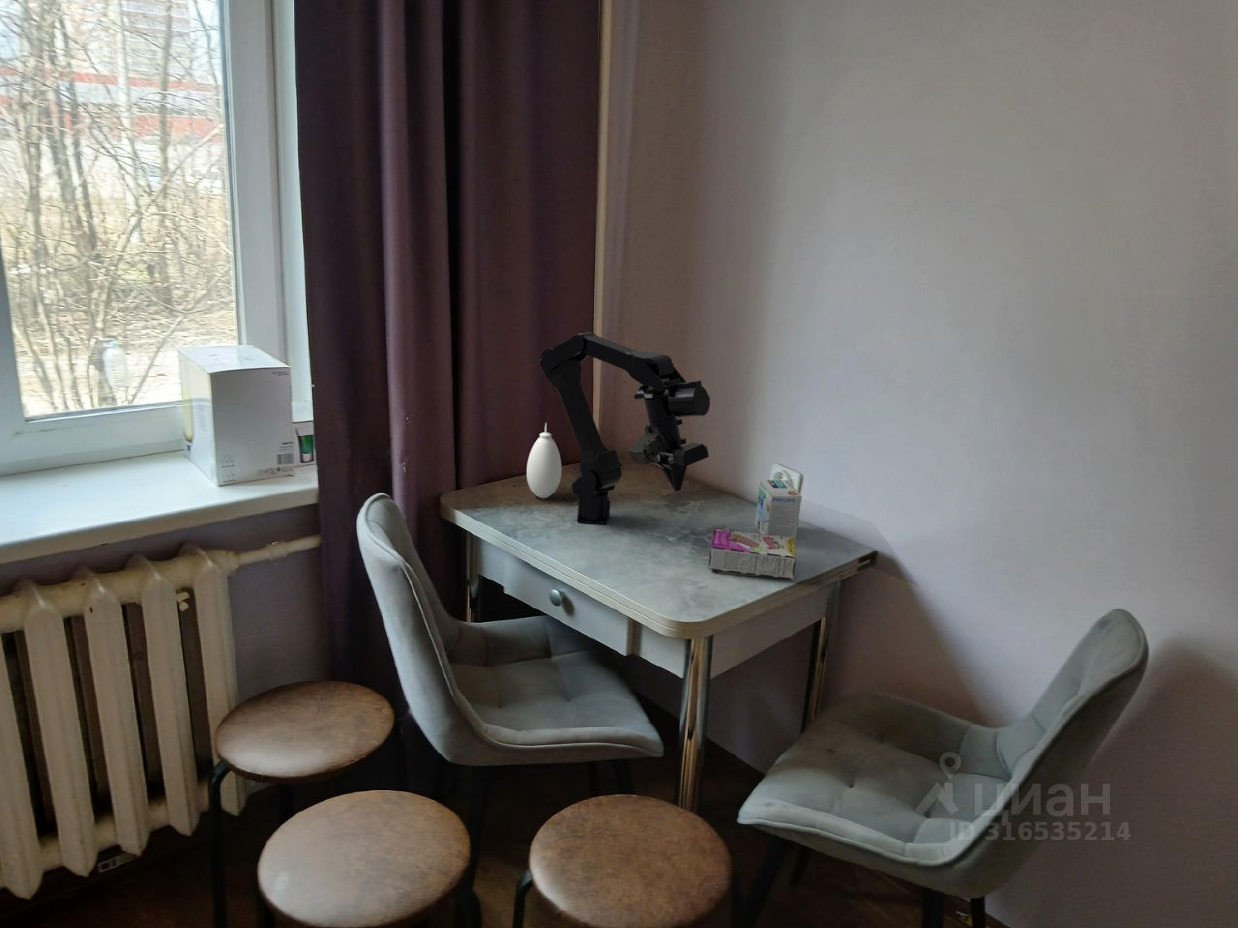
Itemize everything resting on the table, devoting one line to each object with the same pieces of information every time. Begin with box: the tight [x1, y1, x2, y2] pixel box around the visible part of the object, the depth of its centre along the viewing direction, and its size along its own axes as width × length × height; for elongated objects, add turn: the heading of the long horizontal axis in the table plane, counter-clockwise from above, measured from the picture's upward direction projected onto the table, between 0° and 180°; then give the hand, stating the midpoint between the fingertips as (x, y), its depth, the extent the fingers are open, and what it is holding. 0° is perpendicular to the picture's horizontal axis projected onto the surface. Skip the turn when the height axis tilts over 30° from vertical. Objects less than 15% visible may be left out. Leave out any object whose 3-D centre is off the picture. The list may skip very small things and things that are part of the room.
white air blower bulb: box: [526, 422, 562, 499], centre depth 200 cm, size 8×8×18 cm
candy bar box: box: [708, 527, 797, 580], centre depth 171 cm, size 11×5×16 cm
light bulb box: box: [754, 479, 803, 542], centre depth 188 cm, size 11×7×11 cm, turn 5°
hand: (677, 490), depth 178 cm, fingers closed
